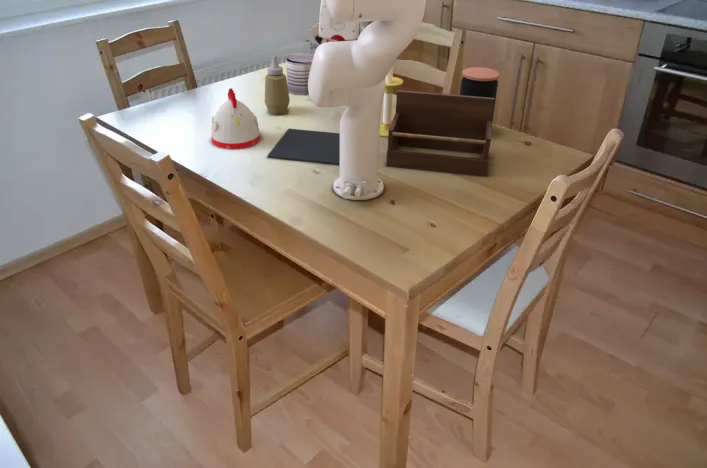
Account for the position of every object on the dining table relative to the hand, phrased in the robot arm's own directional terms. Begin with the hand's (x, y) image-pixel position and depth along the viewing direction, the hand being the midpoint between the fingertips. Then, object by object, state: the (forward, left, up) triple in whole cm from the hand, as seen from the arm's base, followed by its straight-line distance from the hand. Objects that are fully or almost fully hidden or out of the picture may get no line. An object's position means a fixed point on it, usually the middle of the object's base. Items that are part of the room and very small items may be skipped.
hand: (340, 62), depth 153 cm
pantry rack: (0, -28, -25) cm, 37 cm away
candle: (+17, -11, -25) cm, 32 cm away
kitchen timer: (0, +31, -25) cm, 40 cm away
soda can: (0, 0, -3) cm, 3 cm away
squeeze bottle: (+24, +26, -25) cm, 43 cm away
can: (+47, +24, -25) cm, 58 cm away
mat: (0, +6, -25) cm, 25 cm away
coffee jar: (+23, -37, -25) cm, 50 cm away
